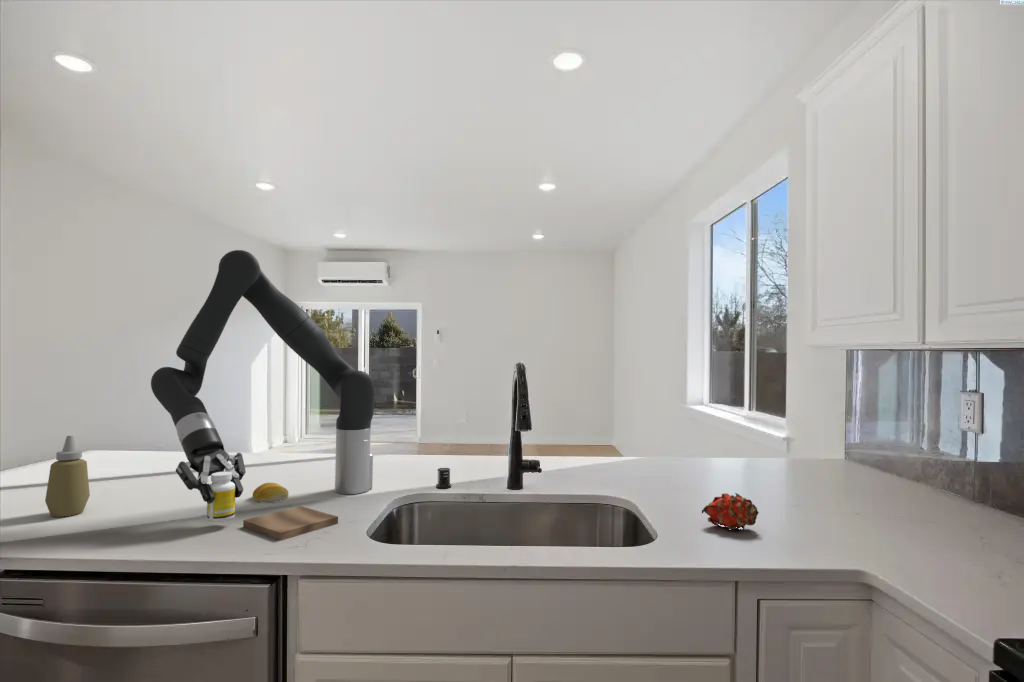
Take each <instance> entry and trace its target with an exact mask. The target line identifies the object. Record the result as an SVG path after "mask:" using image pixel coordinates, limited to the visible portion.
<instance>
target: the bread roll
mask: <svg viewBox="0 0 1024 682" xmlns="http://www.w3.org/2000/svg"><path fill="white" fill-rule="evenodd" d="M288 497H289V490H288V489H287V487H284V486H282V485H281V484H279V483H275V482H265V483H262V484H260V485H258V487H256V488H255V489H254V490H253V492H252V498H253V499H254V500H255V501H256V502H257V501H258V502H257V503H260V502H270V503H276V502H275V501H278V502H281V501H280V500H282V501H284V500H286V499H287V498H288ZM285 498H286V499H285ZM283 499H284V500H283Z"/></svg>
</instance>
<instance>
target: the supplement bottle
mask: <svg viewBox="0 0 1024 682" xmlns="http://www.w3.org/2000/svg"><path fill="white" fill-rule="evenodd" d="M231 479H232V472H217V473H213V474H211V477H210V481H211V483H209V485H210V487H211V490H212V492H213V494H214V497H215V498H214V500H213V502H212V503H210V504H208V503H207V502H206V506H207V507H206V520H207V521H208V522H213V523H214V522H216V523H217V522H218V523H219V522H224V521H229V520H232V519H233V518H235V514H236V497H235V484H234V483H233V482H231Z"/></svg>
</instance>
